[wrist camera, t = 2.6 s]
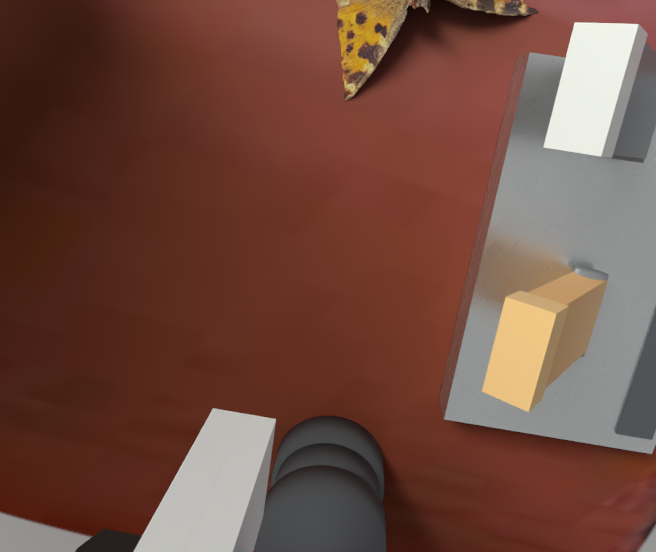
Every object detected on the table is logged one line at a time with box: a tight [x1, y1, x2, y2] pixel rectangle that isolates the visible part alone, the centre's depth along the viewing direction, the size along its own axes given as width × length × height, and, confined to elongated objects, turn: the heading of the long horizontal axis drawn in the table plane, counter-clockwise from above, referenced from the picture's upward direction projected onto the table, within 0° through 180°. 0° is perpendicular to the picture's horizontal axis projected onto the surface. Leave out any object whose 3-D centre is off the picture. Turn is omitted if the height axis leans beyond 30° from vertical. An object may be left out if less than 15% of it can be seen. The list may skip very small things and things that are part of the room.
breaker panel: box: [439, 53, 656, 454], centre depth 30 cm, size 12×20×3 cm, turn 172°
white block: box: [544, 23, 656, 163], centre depth 23 cm, size 2×4×10 cm
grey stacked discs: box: [255, 416, 387, 552], centre depth 33 cm, size 7×7×8 cm
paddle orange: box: [482, 267, 609, 412], centre depth 25 cm, size 2×4×10 cm
